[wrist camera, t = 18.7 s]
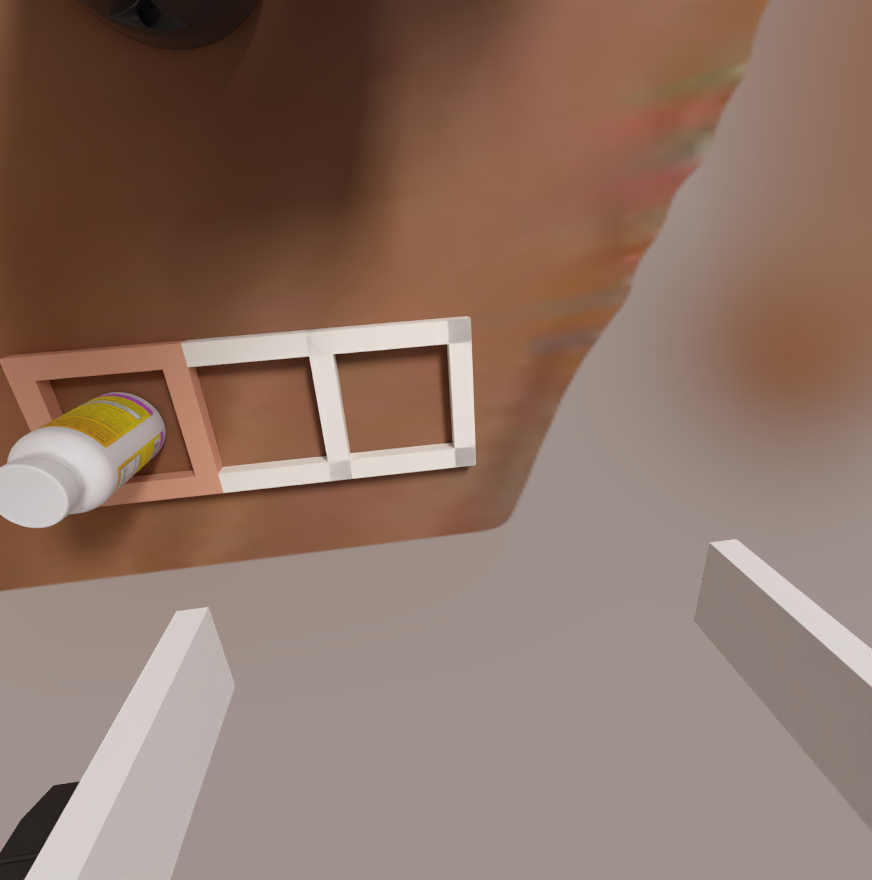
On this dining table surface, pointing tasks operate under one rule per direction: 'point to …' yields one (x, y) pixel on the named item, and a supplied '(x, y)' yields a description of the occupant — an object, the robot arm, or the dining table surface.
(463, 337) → the rack
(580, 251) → the dining table surface
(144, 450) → the supplement bottle
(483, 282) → the dining table surface
